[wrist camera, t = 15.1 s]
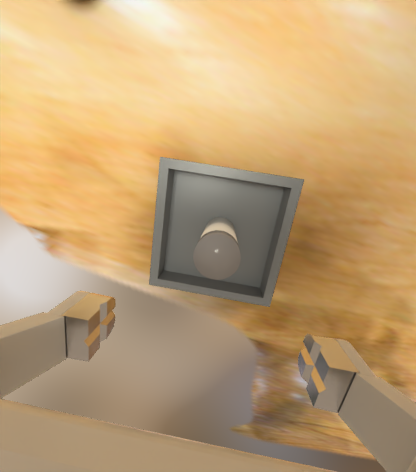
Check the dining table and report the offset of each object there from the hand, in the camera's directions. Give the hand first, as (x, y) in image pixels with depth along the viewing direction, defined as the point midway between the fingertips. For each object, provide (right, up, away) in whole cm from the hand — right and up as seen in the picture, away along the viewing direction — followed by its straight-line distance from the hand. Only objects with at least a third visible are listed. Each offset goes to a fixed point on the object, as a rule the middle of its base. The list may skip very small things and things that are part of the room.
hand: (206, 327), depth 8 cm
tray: (+2, +5, +22) cm, 23 cm away
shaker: (+2, +4, +22) cm, 22 cm away
